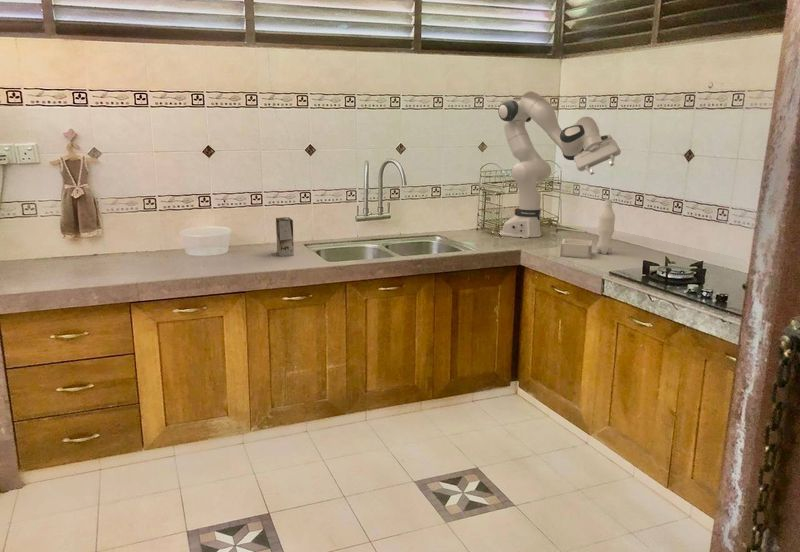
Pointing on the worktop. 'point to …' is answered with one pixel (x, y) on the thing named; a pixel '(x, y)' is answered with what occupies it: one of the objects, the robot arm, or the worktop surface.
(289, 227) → the coffee box
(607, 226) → the water bottle
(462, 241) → the worktop surface
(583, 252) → the box
